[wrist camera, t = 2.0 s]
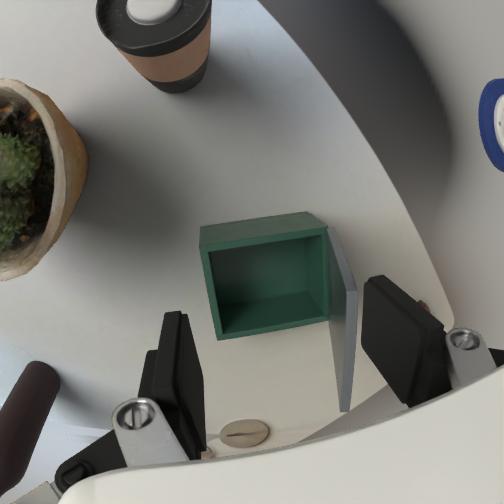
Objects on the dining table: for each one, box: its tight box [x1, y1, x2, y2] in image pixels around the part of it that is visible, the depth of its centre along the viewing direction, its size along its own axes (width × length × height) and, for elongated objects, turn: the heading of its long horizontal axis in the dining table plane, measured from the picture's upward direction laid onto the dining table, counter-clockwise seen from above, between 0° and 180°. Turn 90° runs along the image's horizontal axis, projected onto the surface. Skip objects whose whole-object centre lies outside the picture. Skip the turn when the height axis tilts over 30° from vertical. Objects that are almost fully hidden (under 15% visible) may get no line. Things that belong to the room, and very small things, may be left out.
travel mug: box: [96, 0, 212, 93], centre depth 24 cm, size 8×8×20 cm
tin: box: [199, 211, 329, 341], centre depth 39 cm, size 14×12×8 cm
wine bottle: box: [0, 361, 60, 497], centre depth 30 cm, size 7×7×30 cm
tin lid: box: [326, 228, 359, 412], centre depth 29 cm, size 14×12×1 cm
